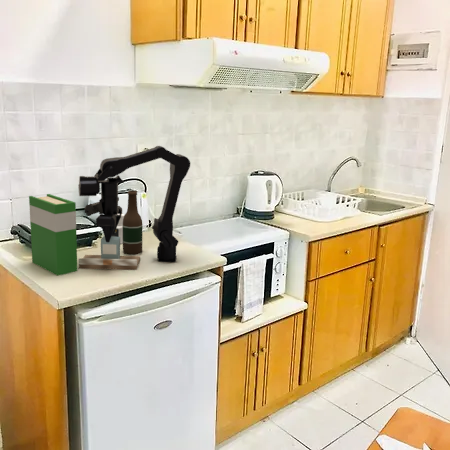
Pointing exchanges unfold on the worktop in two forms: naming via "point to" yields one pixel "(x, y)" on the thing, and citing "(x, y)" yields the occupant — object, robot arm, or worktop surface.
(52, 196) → the hardback book
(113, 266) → the shelf board
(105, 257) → the product carton
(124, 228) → the beer bottle
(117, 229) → the medicine bottle
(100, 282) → the worktop surface
